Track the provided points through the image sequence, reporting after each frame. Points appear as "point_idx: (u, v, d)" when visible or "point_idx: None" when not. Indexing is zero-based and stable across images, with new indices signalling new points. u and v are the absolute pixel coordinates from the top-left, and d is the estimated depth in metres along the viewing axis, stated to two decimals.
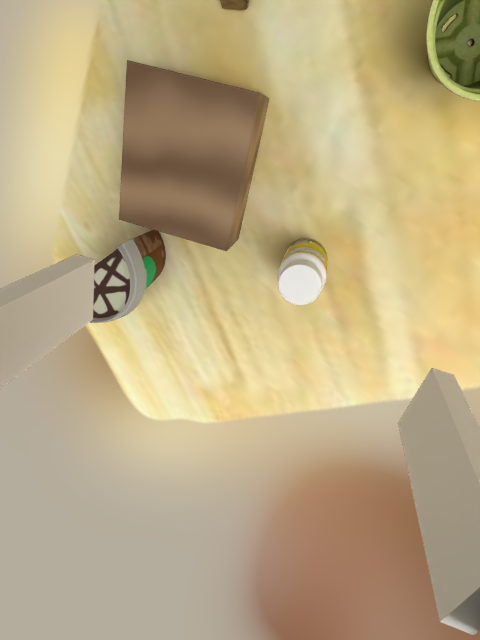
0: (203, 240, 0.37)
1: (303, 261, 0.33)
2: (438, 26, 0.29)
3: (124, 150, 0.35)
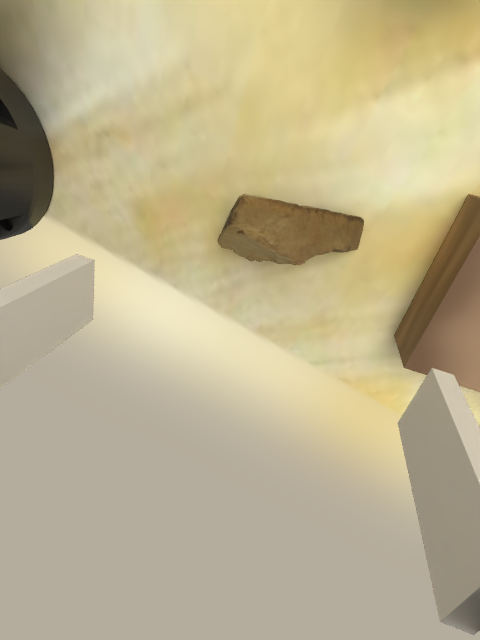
0: None
1: None
2: None
3: None
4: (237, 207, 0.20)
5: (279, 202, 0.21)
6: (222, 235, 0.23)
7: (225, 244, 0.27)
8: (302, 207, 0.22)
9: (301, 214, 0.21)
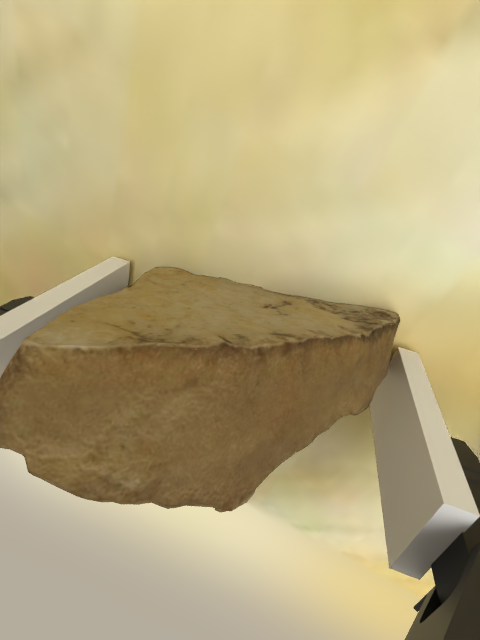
0: None
1: None
2: None
3: None
4: None
5: (161, 349, 0.06)
6: None
7: None
8: (242, 348, 0.07)
9: (239, 371, 0.07)
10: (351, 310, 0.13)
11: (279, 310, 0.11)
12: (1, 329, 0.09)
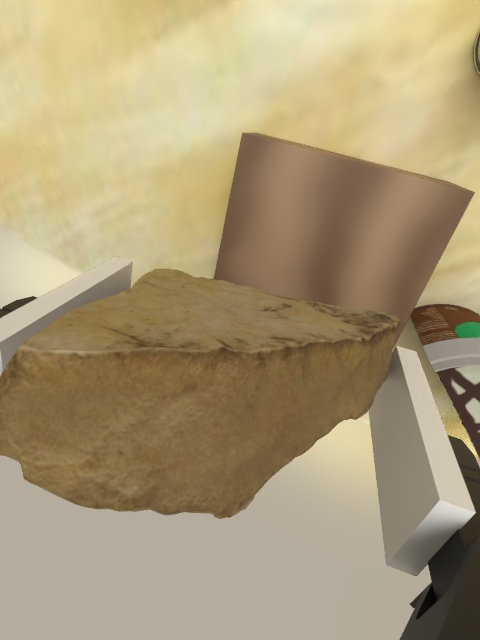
0: (445, 233, 0.22)
1: None
2: None
3: None
4: None
5: (159, 354, 0.06)
6: None
7: None
8: (241, 353, 0.07)
9: (238, 376, 0.07)
10: (351, 313, 0.13)
11: (279, 313, 0.11)
12: (5, 329, 0.09)
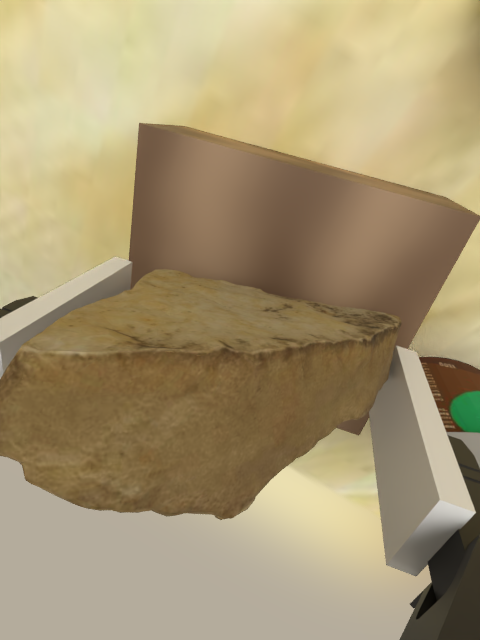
0: (436, 275, 0.15)
1: None
2: None
3: None
4: None
5: (161, 355, 0.06)
6: None
7: None
8: (243, 354, 0.07)
9: (240, 376, 0.07)
10: (352, 313, 0.13)
11: (280, 313, 0.11)
12: (5, 329, 0.09)
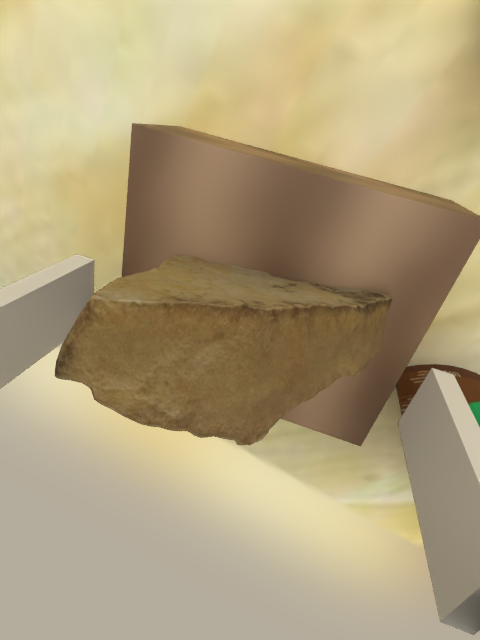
0: (442, 282, 0.14)
1: None
2: None
3: None
4: (73, 331, 0.07)
5: (196, 307, 0.08)
6: None
7: None
8: (259, 310, 0.09)
9: (257, 328, 0.09)
10: (349, 292, 0.14)
11: (286, 289, 0.13)
12: None
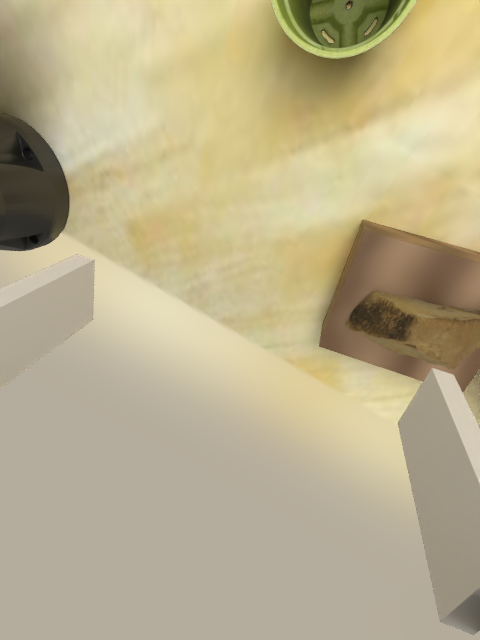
0: None
1: None
2: (329, 47, 0.30)
3: (391, 368, 0.35)
4: (411, 326, 0.23)
5: (443, 319, 0.24)
6: (380, 338, 0.26)
7: (362, 333, 0.31)
8: (459, 320, 0.25)
9: (458, 327, 0.25)
10: (468, 311, 0.30)
11: (446, 310, 0.28)
12: None
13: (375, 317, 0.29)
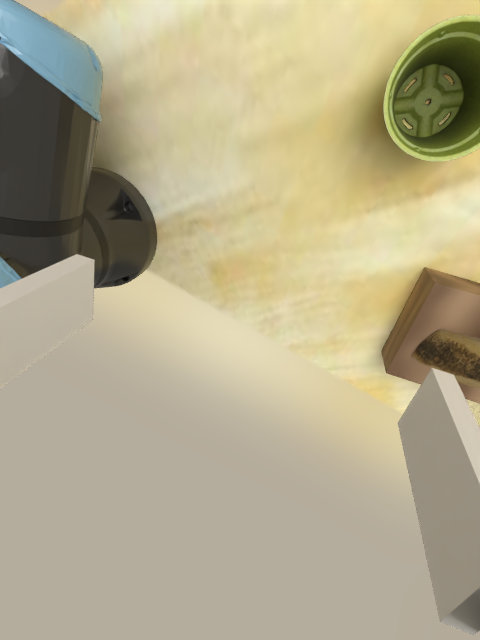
0: None
1: None
2: (407, 132, 0.36)
3: None
4: None
5: None
6: (457, 376, 0.33)
7: (432, 366, 0.37)
8: None
9: None
10: None
11: None
12: None
13: (447, 355, 0.35)
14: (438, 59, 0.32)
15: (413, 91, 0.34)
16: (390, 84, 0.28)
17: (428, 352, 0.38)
